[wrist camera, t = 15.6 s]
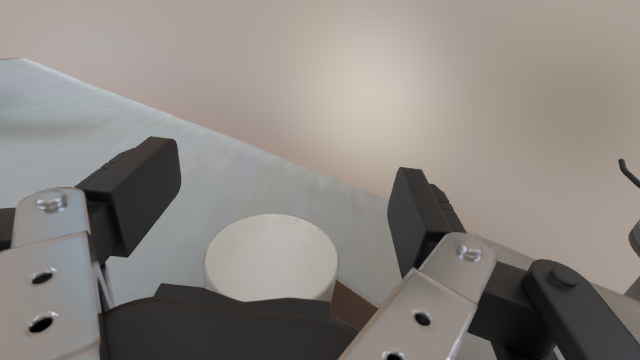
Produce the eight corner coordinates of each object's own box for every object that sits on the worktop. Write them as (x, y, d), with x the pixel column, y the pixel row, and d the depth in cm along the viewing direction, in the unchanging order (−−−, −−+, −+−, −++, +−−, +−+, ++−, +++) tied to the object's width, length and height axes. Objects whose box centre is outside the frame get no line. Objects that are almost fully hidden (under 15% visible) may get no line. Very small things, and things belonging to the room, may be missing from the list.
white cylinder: (266, 343, 18) (275, 199, 13) (326, 400, 16) (364, 254, 11) (198, 407, 15) (174, 251, 10) (260, 489, 13) (270, 341, 8)
